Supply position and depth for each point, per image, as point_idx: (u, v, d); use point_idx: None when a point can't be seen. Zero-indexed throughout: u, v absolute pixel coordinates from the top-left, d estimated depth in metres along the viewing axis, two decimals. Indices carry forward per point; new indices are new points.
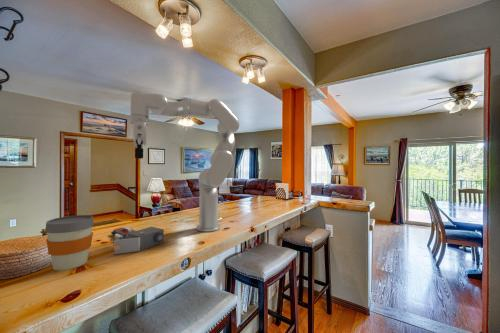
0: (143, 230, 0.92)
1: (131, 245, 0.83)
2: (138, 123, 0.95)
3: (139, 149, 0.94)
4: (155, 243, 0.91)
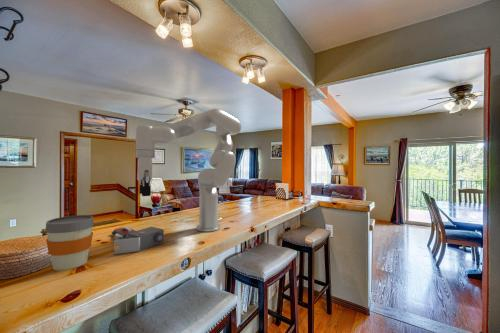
0: (143, 230, 0.92)
1: (131, 245, 0.83)
2: None
3: None
4: (155, 243, 0.91)
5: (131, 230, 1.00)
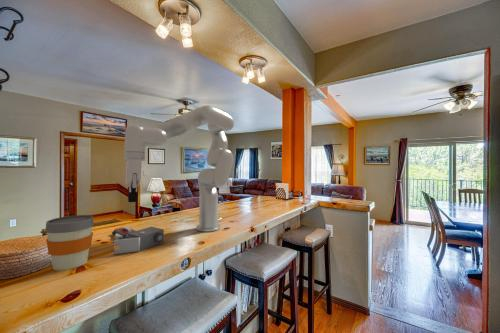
0: (143, 230, 0.92)
1: (131, 245, 0.83)
2: None
3: None
4: (155, 243, 0.91)
5: (131, 230, 1.00)
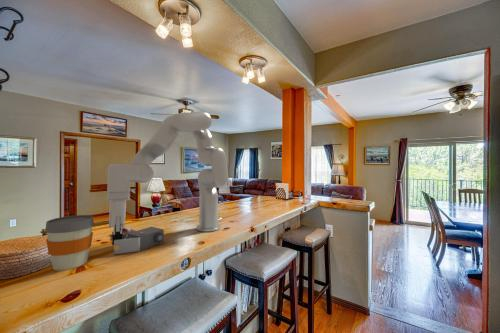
0: (143, 230, 0.92)
1: (131, 245, 0.83)
2: None
3: None
4: (155, 243, 0.91)
5: (131, 230, 1.00)
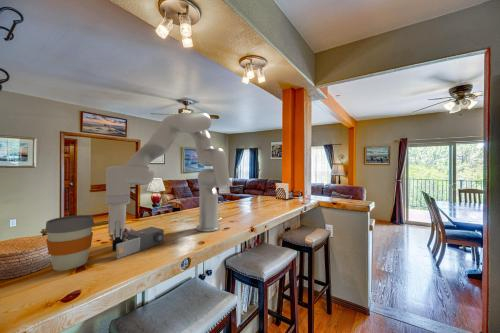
0: (143, 230, 0.92)
1: (133, 246, 0.82)
2: None
3: None
4: (155, 243, 0.91)
5: (130, 230, 1.00)
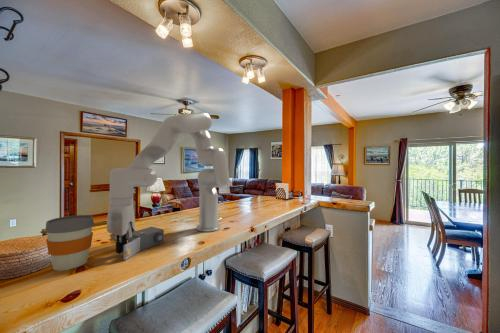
0: (143, 230, 0.92)
1: (135, 246, 0.81)
2: None
3: None
4: (155, 243, 0.91)
5: None
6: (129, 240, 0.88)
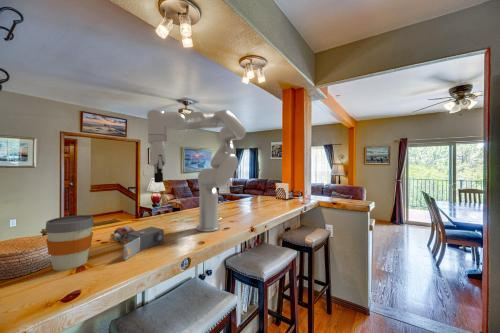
0: (143, 230, 0.92)
1: (135, 246, 0.81)
2: None
3: None
4: (155, 243, 0.91)
5: (130, 230, 1.00)
6: (129, 240, 0.88)
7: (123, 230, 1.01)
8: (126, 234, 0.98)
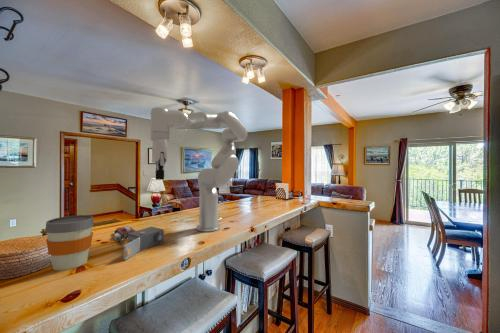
0: (143, 230, 0.92)
1: (135, 246, 0.81)
2: None
3: None
4: (155, 243, 0.91)
5: (130, 230, 1.00)
6: (129, 240, 0.88)
7: (123, 230, 1.01)
8: (126, 234, 0.98)
